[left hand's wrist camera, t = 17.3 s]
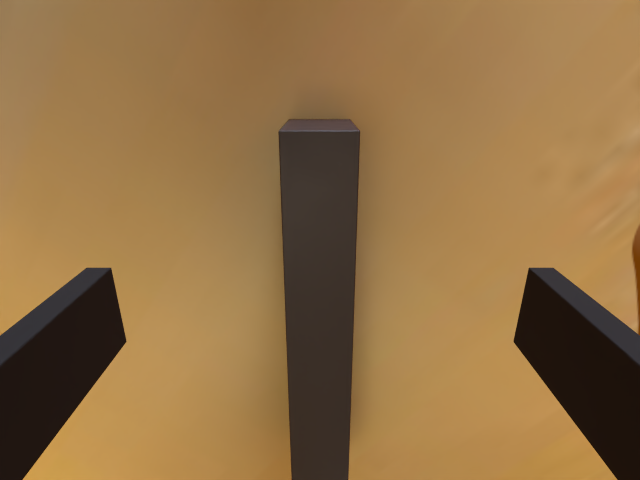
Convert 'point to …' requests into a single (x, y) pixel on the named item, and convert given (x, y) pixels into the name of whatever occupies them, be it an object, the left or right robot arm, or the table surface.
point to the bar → (319, 289)
